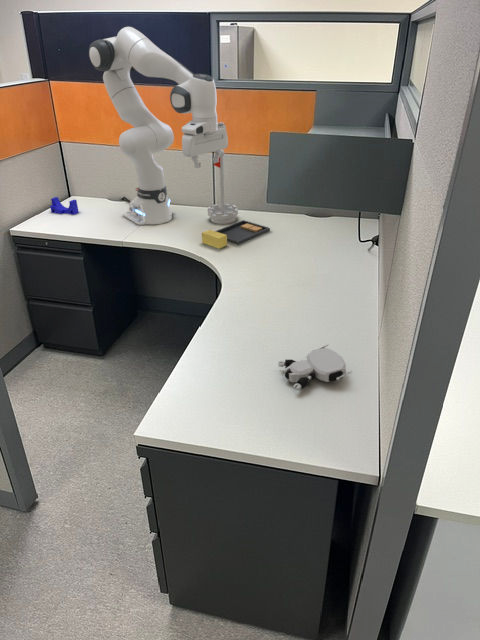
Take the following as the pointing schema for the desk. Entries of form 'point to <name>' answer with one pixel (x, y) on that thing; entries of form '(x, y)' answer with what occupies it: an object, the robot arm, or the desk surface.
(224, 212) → the flag stand
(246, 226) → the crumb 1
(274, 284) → the desk surface
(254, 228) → the crumb
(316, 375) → the robot toy
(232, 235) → the tray
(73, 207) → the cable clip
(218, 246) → the sponge
